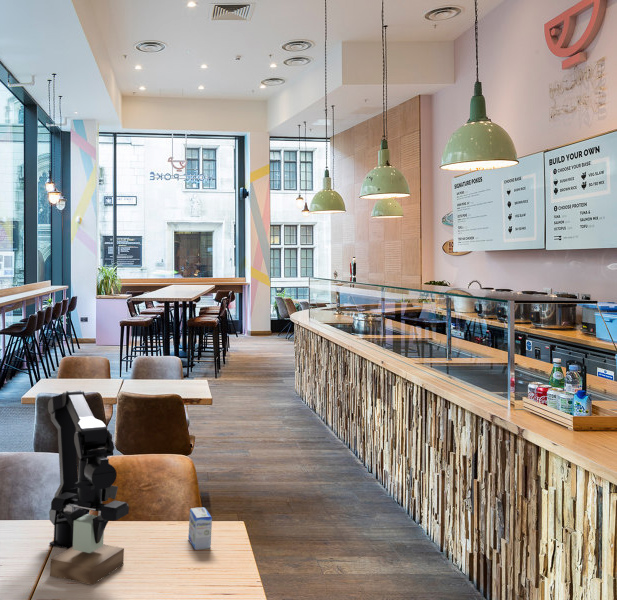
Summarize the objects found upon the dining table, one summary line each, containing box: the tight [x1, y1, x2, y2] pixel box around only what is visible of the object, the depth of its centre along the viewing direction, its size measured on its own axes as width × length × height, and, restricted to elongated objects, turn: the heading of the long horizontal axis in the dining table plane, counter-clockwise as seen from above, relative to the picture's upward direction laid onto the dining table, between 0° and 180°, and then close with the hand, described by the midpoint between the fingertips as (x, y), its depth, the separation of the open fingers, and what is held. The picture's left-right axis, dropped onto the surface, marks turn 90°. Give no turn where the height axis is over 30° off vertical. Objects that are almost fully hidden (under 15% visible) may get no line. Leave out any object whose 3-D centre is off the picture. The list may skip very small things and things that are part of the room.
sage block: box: [73, 513, 105, 553], centre depth 154 cm, size 5×5×7 cm
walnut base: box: [49, 543, 125, 586], centre depth 154 cm, size 12×12×4 cm
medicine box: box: [188, 507, 213, 551], centre depth 172 cm, size 8×4×9 cm, turn 23°
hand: (88, 541), depth 154 cm, fingers closed on sage block, 5 cm apart
